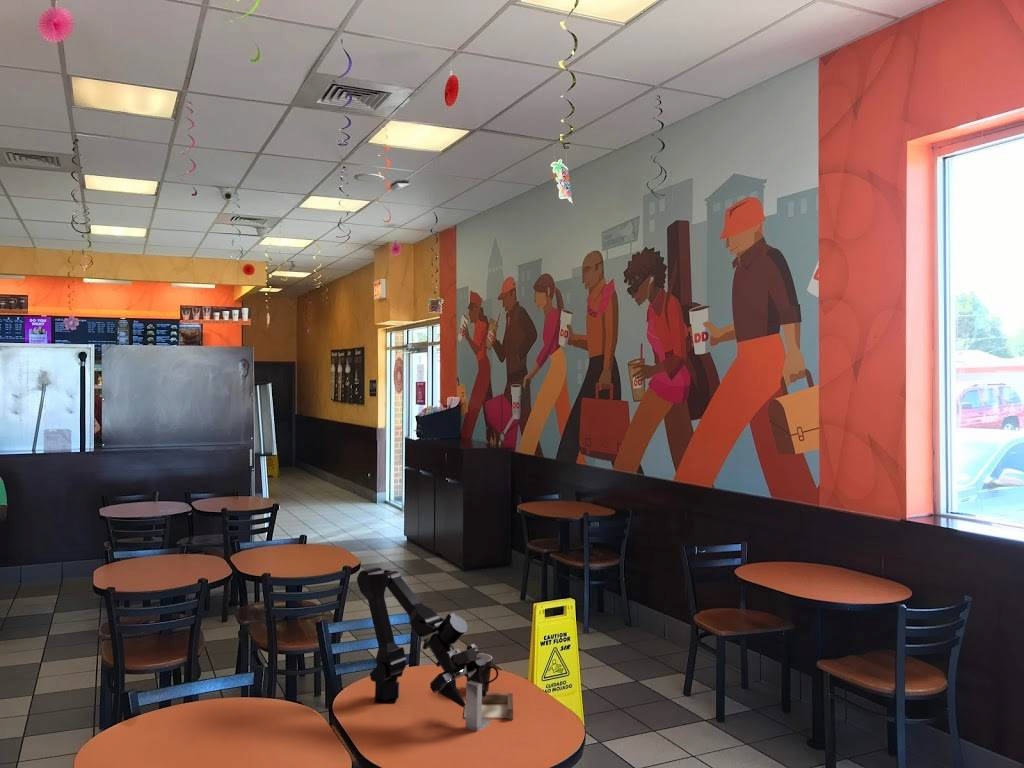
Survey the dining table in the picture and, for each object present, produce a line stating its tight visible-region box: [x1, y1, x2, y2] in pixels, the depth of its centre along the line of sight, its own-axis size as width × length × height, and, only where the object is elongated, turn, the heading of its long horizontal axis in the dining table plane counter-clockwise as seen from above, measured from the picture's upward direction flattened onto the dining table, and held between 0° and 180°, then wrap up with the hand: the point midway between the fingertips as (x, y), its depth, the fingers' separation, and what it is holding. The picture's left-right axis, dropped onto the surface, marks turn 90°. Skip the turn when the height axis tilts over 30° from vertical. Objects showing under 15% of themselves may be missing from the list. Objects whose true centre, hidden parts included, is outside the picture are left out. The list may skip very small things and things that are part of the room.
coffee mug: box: [465, 652, 499, 693], centre depth 248 cm, size 12×9×10 cm
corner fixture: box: [463, 692, 514, 721], centre depth 233 cm, size 14×12×3 cm
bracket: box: [465, 681, 491, 732], centre depth 223 cm, size 4×6×12 cm, turn 144°
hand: (474, 701), depth 221 cm, fingers open, 9 cm apart
